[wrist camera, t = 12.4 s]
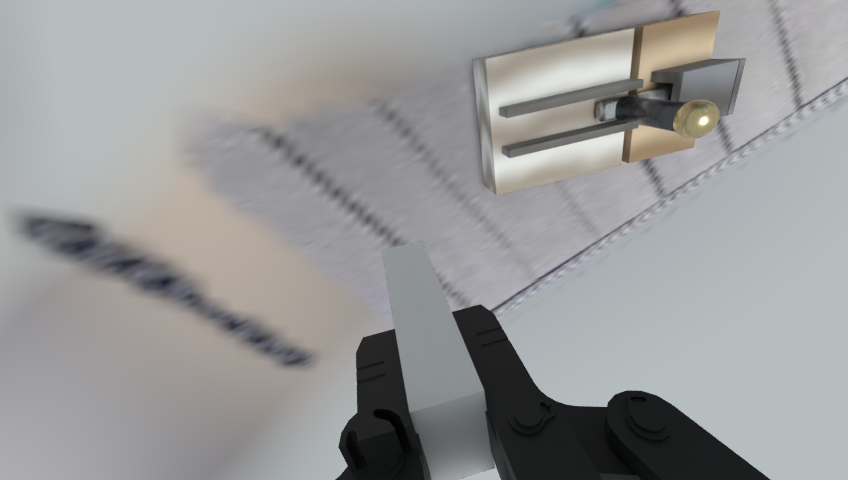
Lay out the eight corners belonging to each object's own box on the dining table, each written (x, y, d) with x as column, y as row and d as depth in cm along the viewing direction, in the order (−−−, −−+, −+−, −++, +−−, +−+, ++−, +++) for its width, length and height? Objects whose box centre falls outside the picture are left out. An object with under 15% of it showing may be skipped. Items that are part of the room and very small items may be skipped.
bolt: (596, 95, 36) (692, 107, 26) (699, 72, 37) (830, 74, 27) (594, 125, 37) (685, 146, 27) (694, 102, 38) (816, 114, 28)
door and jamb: (472, 59, 36) (501, 58, 29) (686, 15, 38) (761, 3, 31) (484, 184, 43) (511, 208, 36) (666, 140, 45) (725, 154, 38)
